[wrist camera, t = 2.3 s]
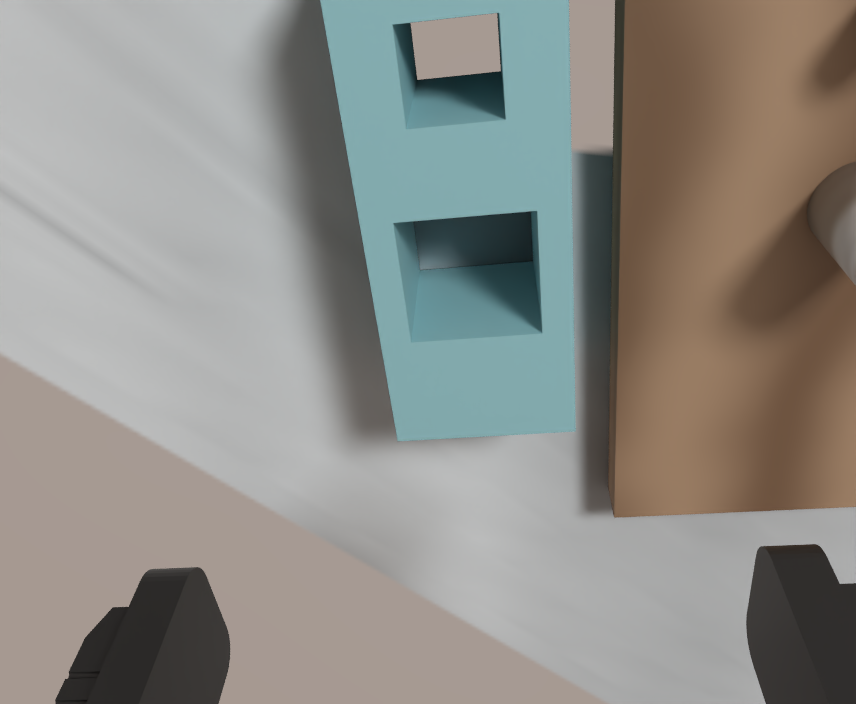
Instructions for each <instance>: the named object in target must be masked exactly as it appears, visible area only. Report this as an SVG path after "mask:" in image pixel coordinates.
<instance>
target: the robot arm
mask: <svg viewBox="0 0 856 704" xmlns="http://www.w3.org/2000/svg"><path fill="white" fill-rule="evenodd" d="M746 626H747V638H748V645H749V650H750V655H751V659H752V662H753V665H754V669H755V672H756V675H757V678H758V681H759V684H760V687H761V690H762V693H763V696H764V699H765V702H766V704H856V583H854V584H839V581H838V579H837V577H836V575H835V573H834V571H833V569H832V567H831V565H830V563H829V560H828V558H827V556H826V554H825V553H824V551H823V550H822V548H821V547H820V546H818V545H816V544H811V545H786V546H761V547H759V549H758V551H757V554H756V560H755V566H754V572H753V579H752V585H751V591H750V598H749V604H748V610H747V620H746ZM229 660H230V640H229V634H228V630H227V627H226V625H225V622H224V620H223V617H222V614H221V612H220V610H219V607H218V604H217V602H216V599H215V597H214V594H213V592H212V589H211V587H210V584H209V582H208V579H207V577H206V575H205V573H204V571H203V570H202V569H201V568H198V567H196V568H169V569H151V570H149V571H147V572H146V573H145V574H144V576H143V577H142V579H141V581H140V583H139V585H138V588H137V590H136V592H135V594H134V596H133V598H132V601H131V603H130V605H129V607H114V608H112V609H111V610H110V611H109V612H108V614H107V615H106V616H105V617H104V618H103V619H102V620H101V621H100V622H99V623H98V624H97V625H96V627H95V628H94V629H93V630H92V631H91V632H90V633H89V634H88V635H87V637H86V638H85V639H84V641H83V644H82V646H81V648H80V650H79V652H78V654H77V656H76V658H75V660H74V662H73V664H72V667H71V668H70V671H69V678H68V679H65V681H64V683H63V685H62V687H61V689H60V691H59V694H58V695H57V698H56V700H55V701H56V704H218V703H219V700H220V696H221V693H222V689H223V686H224V683H225V679H226V676H227V672H228V667H229Z"/></svg>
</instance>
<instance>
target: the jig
mask: <svg viewBox="0 0 856 704" xmlns="http://www.w3.org/2000/svg"><path fill="white" fill-rule="evenodd" d="M614 59H615V60H614V123H613V128H614V129H613V191H612V260H611V329H610V398H609V467H608V488H609V494H610V499H611V504H612V509H613V514H614V517H636V516H659V515H681V514H704V513H726V512H749V511H771V510H793V509H816V508H838V507H856V0H615V54H614Z"/></svg>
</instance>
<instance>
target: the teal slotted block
mask: <svg viewBox="0 0 856 704" xmlns="http://www.w3.org/2000/svg"><path fill="white" fill-rule="evenodd" d="M320 2H321V8H322V13H323V19H324V25H325V30H326V36H327V42H328V47H329V53H330V59H331V64H332V70H333V76H334V81H335V87H336V93H337V99H338V104H339V110H340V116H341V121H342V127H343V133H344V138H345V144H346V150H347V155H348V161H349V167H350V172H351V178H352V184H353V190H354V195H355V201H356V207H357V212H358V218H359V224H360V229H361V235H362V241H363V246H364V252H365V258H366V263H367V269H368V275H369V281H370V286H371V292H372V298H373V303H374V309H375V315H376V320H377V326H378V332H379V337H380V343H381V349H382V354H383V360H384V366H385V372H386V377H387V383H388V389H389V394H390V400H391V406H392V411H393V417H394V423H395V428H396V434H397V440H398V441H413V440H430V439H448V438H466V437H484V436H502V435H520V434H538V433H555V432H573V431H576V428H575V363H574V298H573V233H572V168H571V109H570V107H571V106H570V43H569V42H570V41H569V0H320ZM492 13H497V14H498V31H499V46H500V64H501V71H500V72H491V73H481V74H471V75H462V76H452V77H443V78H433V79H424V80H417V75H416V67H415V58H414V50H413V42H412V33H411V24H410V23H411V22H420V21H429V20H438V19H447V18H456V17H465V16H474V15H483V14H492ZM528 211H531V227H532V249H533V261H532V262H519V263H506V264H494V265H481V266H468V267H455V268H443V269H430V270H420V267H419V259H418V252H417V245H416V237H415V230H414V222H413V221H422V220H434V219H446V218H457V217H469V216H481V215H493V214H504V213H516V212H528Z"/></svg>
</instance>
